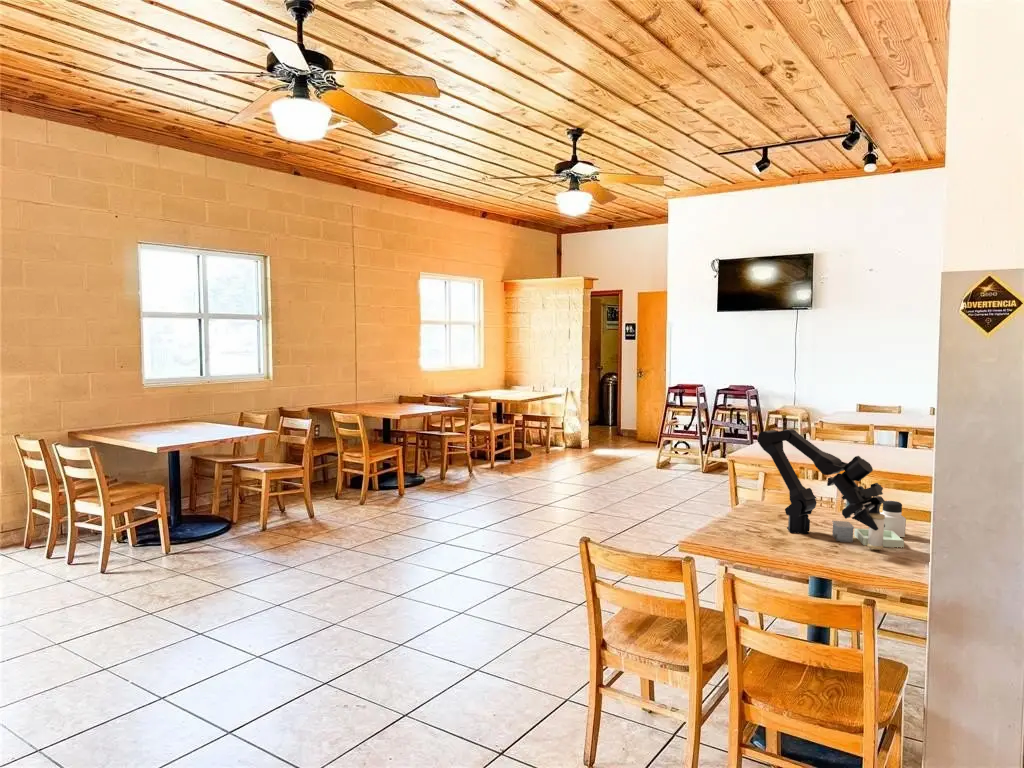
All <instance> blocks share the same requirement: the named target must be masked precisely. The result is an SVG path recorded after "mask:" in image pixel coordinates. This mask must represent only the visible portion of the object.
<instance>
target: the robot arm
mask: <svg viewBox="0 0 1024 768" xmlns="http://www.w3.org/2000/svg"><path fill="white" fill-rule="evenodd" d="M756 439H757V443H758V444H759V446H760V448H761V449H762V451H764V452H766V454H767V455H769V456H770V457H771V459H772V460H773V463H774V465H775V467H776V468H777V471H778V472H779V474H780V477H781V478H782V480H783V481H784V483H785V485H786V487H787V489H788V491H789V493H788V494H789V495H788V496H789V501H790V504H789V505H788V506H787V507H786V508H785V509H784V512H785V515H786V516H788V522H787V523H788V525H787V527H786V529H787V531H788V532H789V533H790V534H804V535H809V534H810V528H811V520H810V519H809V515H811V514H812V512H813V510H814V509H815V508H816V506H817V500H816V499H817V497H816V495H814V491H813V490H812V489H811V487H808V488H806V487H805V486H803V485H802V482H801V481H800V478H799V477H798V475H797V473H796V471H795V470H794V468H793V466H792V464H791V463H790V460H789V459H788V456H787V455H786V453H785V452H784V442H785V441H786V442H787V443H789V444H790V445H791V446H793V447H794V448H795V449H796V450H798V451H800V452H801V454H803V455H804V456H805V457H807V458H808V459H810V461H812V463H813V464H814V466H815V467H816V469H817V470H818V471H819V472H820V473H821V474H822V475H824V476H830V477H827V484H826V486H828V487H829V486H835V487H836V488H837V490H838V491H839V493H841V495H842V496H841V498H842V500H844V501H845V500H846V501H847V502H848V505H847V506H846V507H844V508H843V509H842V510H841V515H842V516H843V517H844V519H845V520H846V519H849V518H851V519H853V520H855V521H857V522H860V523H861V524H863V525H864V526H866V527H868V528H869V527H870V528H872V529H874V530H875V531H876V530H878V527H877V525H876V524H875V522H874V520H873V519H872V517H871V516H870V514H869V513H880V512H881V511H880V509H881V507H882V505H883V502H885V501H886V500H885V499H884V498H883V497H882V496H881V495H883V494H884V493H883V490H884V488H883V486H882V485H881V484H879V483H878V482H875V483H871V484H870V487H868V488H867V487H866V488H864V487H863V486H861V485H859V486H858V484H857V483H856V482H861V481H862V480H863V479H864V478H866V477H867V476H868V475H870V474H871V473H872V472H873V470H874V469H873V467H872V464H870V462H868V461H867V460H866V459H864V458H861V456H860V455H856V456H854V457H853V458H852V459H851V460H850V461H849V462H845V461H842V460H841V459H840V458H839V457H838V456H836V455H834V454H831V453H828V452H825V451H823V450H821V449H820V448H818V447H817V446H816V445H814V444H813V443H812V442H811V441H809V440H808V439H806V438H805V437H804V436H803V435H801V434H800V433H798V431H796V429H793V428H789V429H783V430H780V431H778V430H775V429H774V430H773V429H771V430H762V431H760V432H759V433H758V435H757V438H756ZM841 472H842V473H841ZM835 474H836V475H835ZM831 475H834V476H832V477H831ZM855 481H856V482H855ZM852 515H853V516H852ZM851 516H852V517H851ZM884 527H885V524H884Z"/></svg>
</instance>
